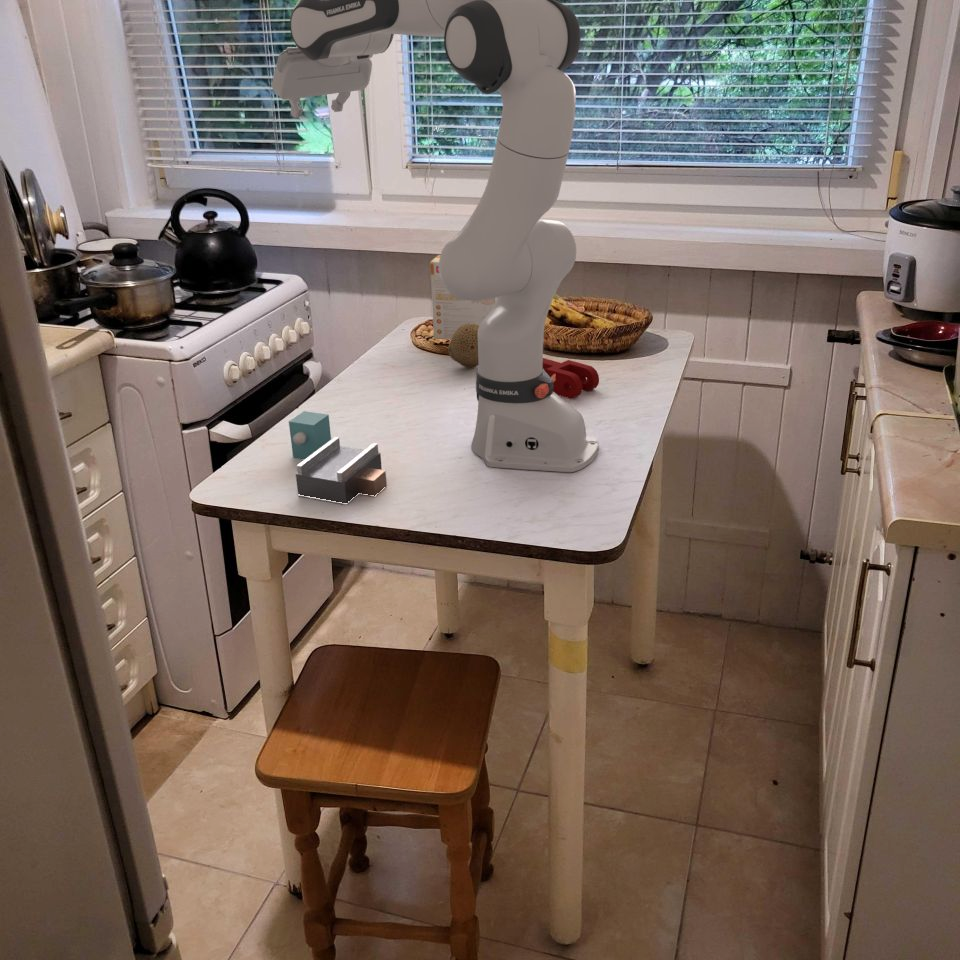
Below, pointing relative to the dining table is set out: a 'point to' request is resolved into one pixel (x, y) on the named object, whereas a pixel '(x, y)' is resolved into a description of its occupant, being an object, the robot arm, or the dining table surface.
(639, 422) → the dining table surface
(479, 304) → the coffeecake box
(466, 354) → the natural sponge
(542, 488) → the dining table surface
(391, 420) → the dining table surface
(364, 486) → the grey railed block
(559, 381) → the mechanical linkage
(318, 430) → the block
